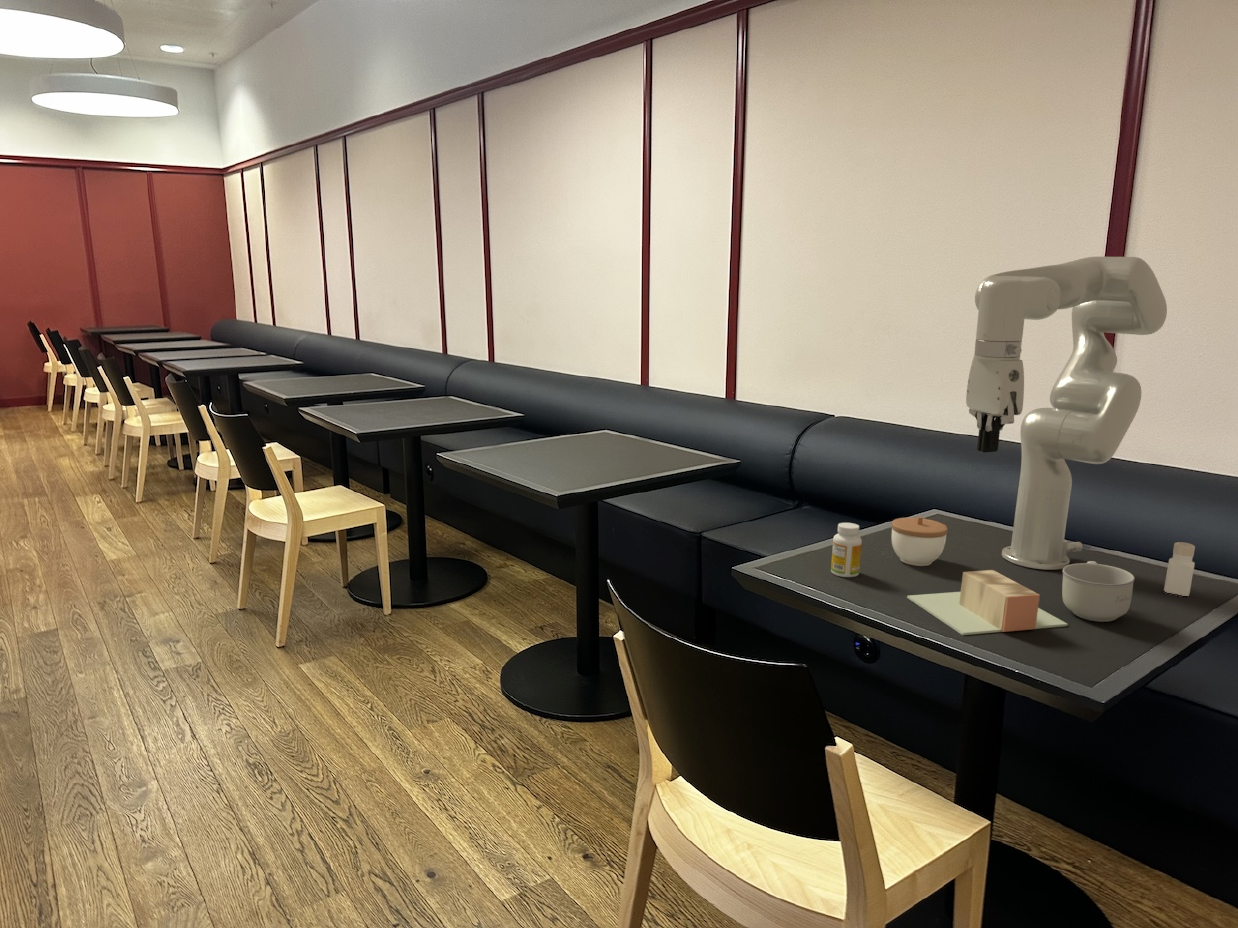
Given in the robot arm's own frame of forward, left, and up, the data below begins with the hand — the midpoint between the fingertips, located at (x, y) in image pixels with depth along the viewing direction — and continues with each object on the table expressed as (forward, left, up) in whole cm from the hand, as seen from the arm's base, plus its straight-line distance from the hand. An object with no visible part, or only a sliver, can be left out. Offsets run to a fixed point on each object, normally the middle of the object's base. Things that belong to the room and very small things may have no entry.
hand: (987, 450), depth 157 cm
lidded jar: (+3, -15, -26) cm, 30 cm away
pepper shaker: (-36, +10, -26) cm, 46 cm away
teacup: (-13, +15, -26) cm, 33 cm away
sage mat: (+6, +12, -26) cm, 29 cm away
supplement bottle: (+21, -11, -26) cm, 35 cm away
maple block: (+6, +21, -23) cm, 31 cm away
